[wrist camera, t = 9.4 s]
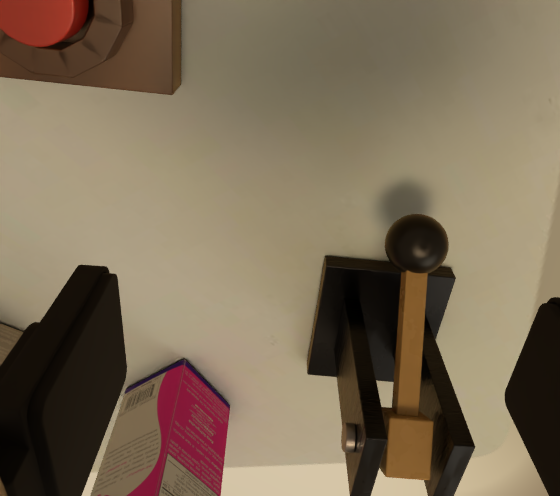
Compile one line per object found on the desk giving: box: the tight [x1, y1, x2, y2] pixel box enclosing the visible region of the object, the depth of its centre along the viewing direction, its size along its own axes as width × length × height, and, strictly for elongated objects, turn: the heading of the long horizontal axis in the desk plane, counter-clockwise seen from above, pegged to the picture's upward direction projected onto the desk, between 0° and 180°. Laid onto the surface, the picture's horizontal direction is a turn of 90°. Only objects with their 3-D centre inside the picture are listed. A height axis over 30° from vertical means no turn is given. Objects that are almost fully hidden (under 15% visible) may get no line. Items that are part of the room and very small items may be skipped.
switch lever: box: [379, 214, 448, 480], centre depth 26 cm, size 13×3×3 cm
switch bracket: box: [307, 256, 475, 496], centre depth 29 cm, size 9×8×12 cm
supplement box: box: [91, 359, 230, 496], centre depth 33 cm, size 6×6×12 cm
